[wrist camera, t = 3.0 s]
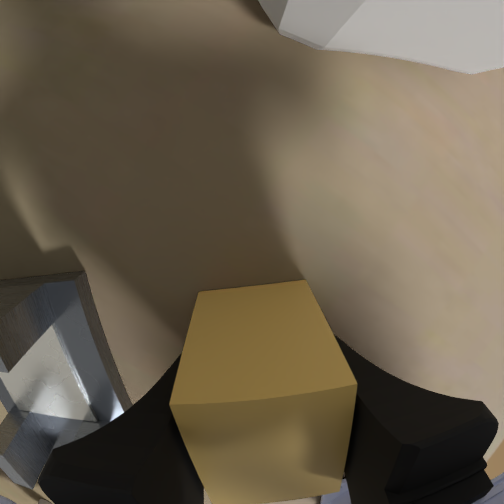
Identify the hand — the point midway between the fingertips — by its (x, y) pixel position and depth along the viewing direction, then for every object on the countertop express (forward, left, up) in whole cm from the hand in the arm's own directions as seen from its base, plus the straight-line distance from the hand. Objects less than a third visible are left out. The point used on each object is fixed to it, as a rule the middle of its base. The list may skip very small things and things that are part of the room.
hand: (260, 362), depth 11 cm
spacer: (0, 0, -1) cm, 1 cm away
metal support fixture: (+11, +10, -1) cm, 15 cm away
